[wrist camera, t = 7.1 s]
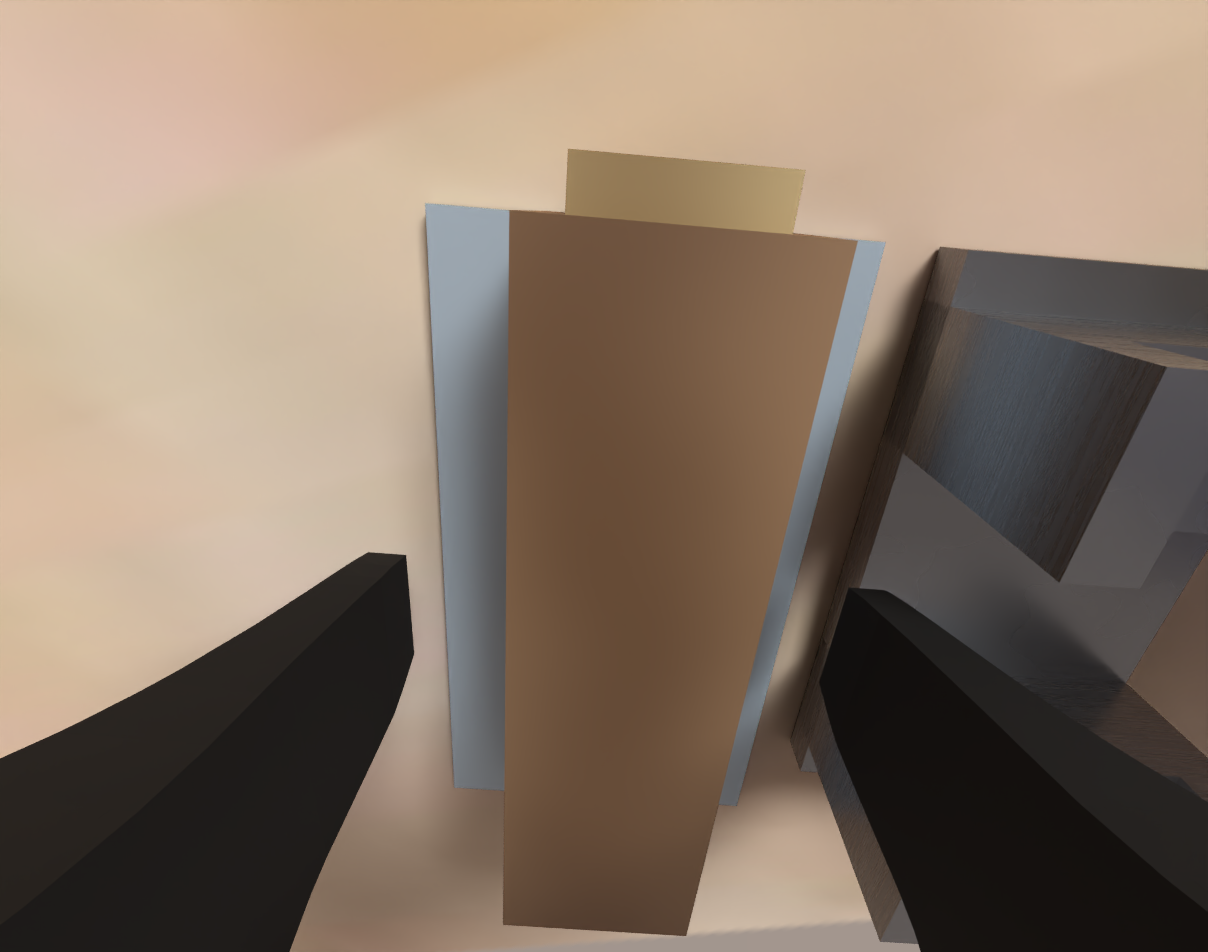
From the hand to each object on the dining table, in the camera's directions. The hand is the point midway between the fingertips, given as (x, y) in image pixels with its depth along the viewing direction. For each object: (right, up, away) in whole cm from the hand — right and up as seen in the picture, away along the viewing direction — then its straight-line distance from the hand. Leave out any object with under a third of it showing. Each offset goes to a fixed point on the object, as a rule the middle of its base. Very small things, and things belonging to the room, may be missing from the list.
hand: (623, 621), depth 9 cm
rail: (0, +1, +2) cm, 2 cm away
